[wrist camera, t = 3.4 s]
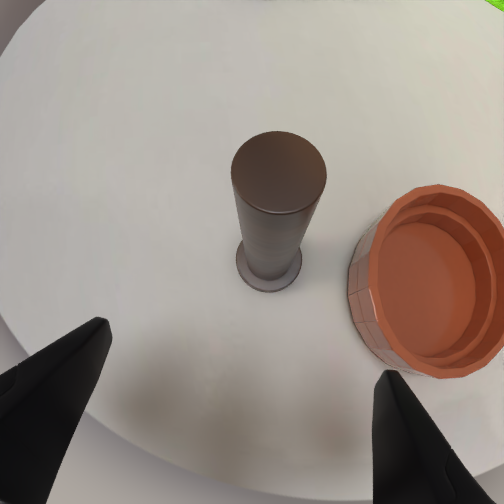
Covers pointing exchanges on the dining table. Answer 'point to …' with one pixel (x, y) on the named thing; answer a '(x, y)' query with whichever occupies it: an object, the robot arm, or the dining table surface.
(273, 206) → the brown cylinder
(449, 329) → the bowl
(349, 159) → the dining table surface
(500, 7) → the wineglass
